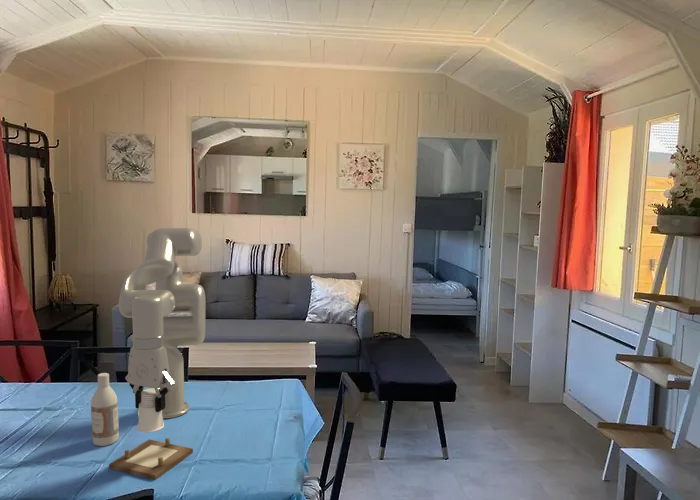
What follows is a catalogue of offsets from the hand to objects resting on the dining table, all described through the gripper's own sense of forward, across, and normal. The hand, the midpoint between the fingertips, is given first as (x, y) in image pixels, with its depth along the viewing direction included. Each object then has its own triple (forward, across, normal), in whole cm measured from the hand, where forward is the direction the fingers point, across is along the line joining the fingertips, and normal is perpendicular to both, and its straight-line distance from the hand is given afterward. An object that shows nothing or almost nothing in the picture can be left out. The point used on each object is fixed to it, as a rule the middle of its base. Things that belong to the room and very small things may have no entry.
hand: (150, 407), depth 142 cm
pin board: (+15, 0, 0) cm, 15 cm away
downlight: (+6, 0, 0) cm, 6 cm away
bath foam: (+15, -20, +4) cm, 25 cm away
